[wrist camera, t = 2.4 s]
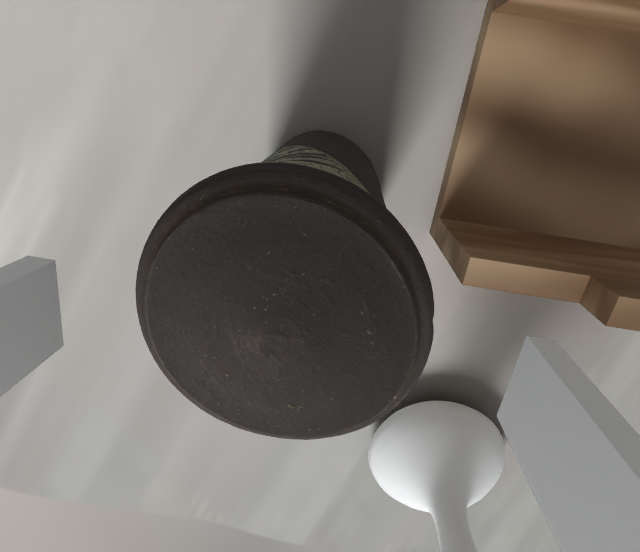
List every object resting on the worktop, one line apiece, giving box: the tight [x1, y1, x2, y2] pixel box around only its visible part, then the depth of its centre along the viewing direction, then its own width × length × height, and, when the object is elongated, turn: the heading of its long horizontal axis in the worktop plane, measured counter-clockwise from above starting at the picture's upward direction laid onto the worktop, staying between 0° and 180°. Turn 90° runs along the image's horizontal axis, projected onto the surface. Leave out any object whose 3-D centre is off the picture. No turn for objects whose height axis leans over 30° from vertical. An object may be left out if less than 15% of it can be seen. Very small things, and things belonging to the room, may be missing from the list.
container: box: [136, 131, 434, 440], centre depth 20 cm, size 9×9×20 cm
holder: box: [430, 0, 640, 331], centre depth 22 cm, size 15×16×12 cm
